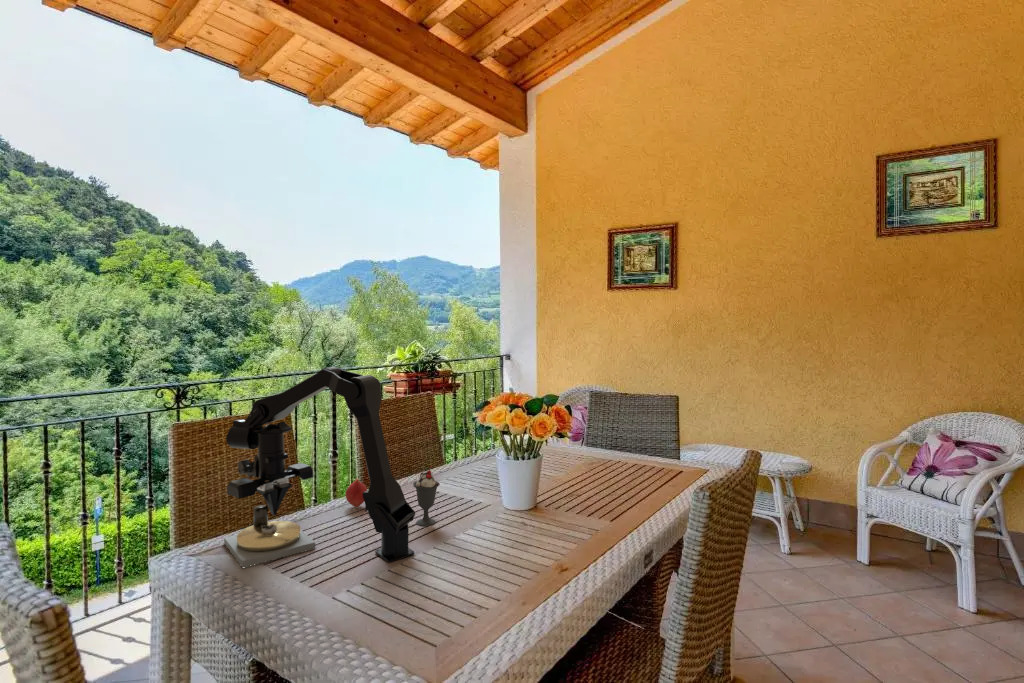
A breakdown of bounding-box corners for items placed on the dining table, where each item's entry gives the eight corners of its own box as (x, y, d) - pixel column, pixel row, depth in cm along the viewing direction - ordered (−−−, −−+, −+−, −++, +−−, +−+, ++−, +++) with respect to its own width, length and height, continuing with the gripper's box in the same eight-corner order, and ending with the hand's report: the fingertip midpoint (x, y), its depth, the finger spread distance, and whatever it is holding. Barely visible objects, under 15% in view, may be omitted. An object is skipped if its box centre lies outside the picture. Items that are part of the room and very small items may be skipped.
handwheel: (309, 528, 126) (309, 505, 126) (284, 552, 113) (284, 527, 113) (256, 526, 127) (256, 503, 127) (224, 550, 114) (224, 524, 114)
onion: (340, 508, 144) (341, 479, 144) (356, 502, 149) (356, 474, 149) (356, 512, 142) (357, 483, 141) (372, 506, 147) (372, 477, 146)
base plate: (315, 548, 119) (315, 542, 119) (242, 568, 110) (242, 561, 109) (291, 527, 131) (291, 521, 131) (224, 544, 121) (224, 537, 121)
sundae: (434, 528, 132) (435, 469, 131) (408, 526, 133) (409, 467, 132) (442, 519, 138) (443, 462, 138) (418, 516, 140) (419, 460, 139)
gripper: (288, 437, 138) (290, 496, 139) (213, 454, 123) (216, 520, 124) (313, 443, 131) (315, 505, 132) (238, 461, 116) (241, 531, 117)
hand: (273, 514), depth 127 cm, fingers closed
